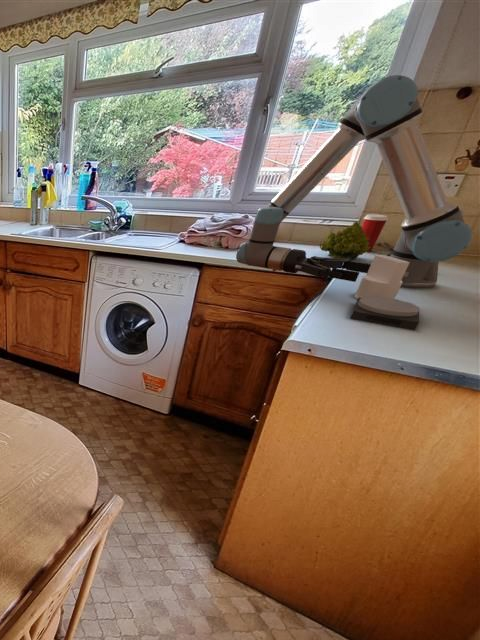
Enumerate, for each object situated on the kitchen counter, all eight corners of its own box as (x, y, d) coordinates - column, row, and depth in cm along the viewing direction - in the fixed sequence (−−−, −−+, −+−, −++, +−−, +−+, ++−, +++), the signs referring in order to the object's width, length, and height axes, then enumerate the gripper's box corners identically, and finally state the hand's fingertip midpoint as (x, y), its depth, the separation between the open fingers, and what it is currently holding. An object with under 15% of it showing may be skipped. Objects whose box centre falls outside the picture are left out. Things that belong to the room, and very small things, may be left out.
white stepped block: (347, 294, 134) (363, 255, 128) (376, 294, 134) (394, 254, 128) (369, 303, 126) (388, 262, 121) (401, 303, 126) (421, 262, 120)
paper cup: (372, 249, 185) (387, 214, 178) (375, 253, 179) (391, 217, 172) (349, 247, 189) (363, 213, 182) (351, 251, 183) (366, 216, 176)
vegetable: (360, 254, 161) (356, 216, 163) (315, 268, 176) (311, 233, 177) (384, 258, 166) (380, 221, 168) (338, 272, 181) (335, 237, 182)
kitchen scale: (355, 304, 126) (360, 293, 125) (415, 314, 119) (421, 302, 117) (350, 318, 117) (355, 306, 115) (414, 330, 109) (421, 317, 107)
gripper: (299, 265, 153) (374, 278, 138) (266, 277, 141) (344, 293, 126) (307, 243, 149) (384, 254, 134) (274, 254, 137) (355, 267, 122)
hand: (365, 273), depth 130 cm, fingers open, 13 cm apart
